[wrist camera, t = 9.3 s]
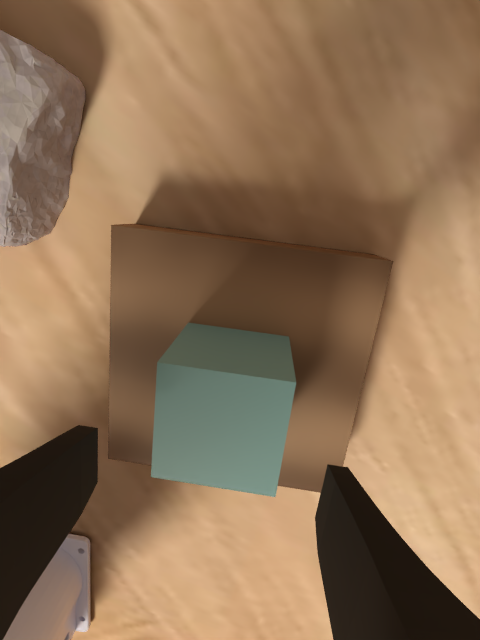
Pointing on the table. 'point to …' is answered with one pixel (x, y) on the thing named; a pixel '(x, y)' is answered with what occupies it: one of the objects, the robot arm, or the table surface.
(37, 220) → the stone block
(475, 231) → the table surface
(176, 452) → the teal cube
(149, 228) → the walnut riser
